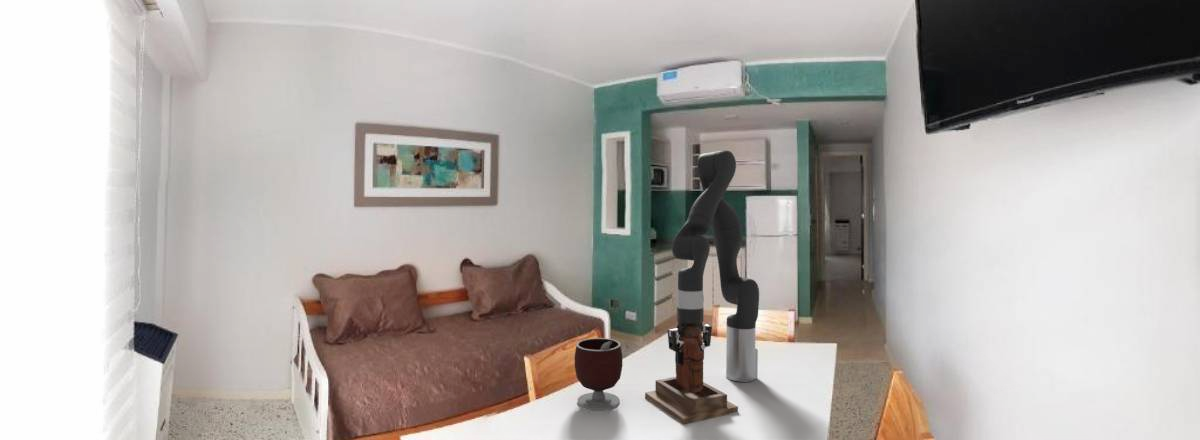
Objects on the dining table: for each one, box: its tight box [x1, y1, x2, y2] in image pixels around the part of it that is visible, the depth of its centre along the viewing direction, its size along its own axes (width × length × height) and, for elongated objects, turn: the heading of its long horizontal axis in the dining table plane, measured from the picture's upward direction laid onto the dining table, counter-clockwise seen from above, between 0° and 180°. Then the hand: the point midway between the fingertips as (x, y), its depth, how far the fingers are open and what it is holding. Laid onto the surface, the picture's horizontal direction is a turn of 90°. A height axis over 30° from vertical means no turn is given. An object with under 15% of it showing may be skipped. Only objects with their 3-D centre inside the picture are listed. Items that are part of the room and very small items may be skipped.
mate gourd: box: [574, 337, 623, 412], centre depth 145 cm, size 16×14×20 cm
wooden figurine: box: [674, 325, 704, 393], centre depth 144 cm, size 12×6×18 cm, turn 16°
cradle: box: [644, 376, 739, 425], centre depth 144 cm, size 18×20×5 cm
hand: (689, 363), depth 144 cm, fingers closed on wooden figurine, 6 cm apart
